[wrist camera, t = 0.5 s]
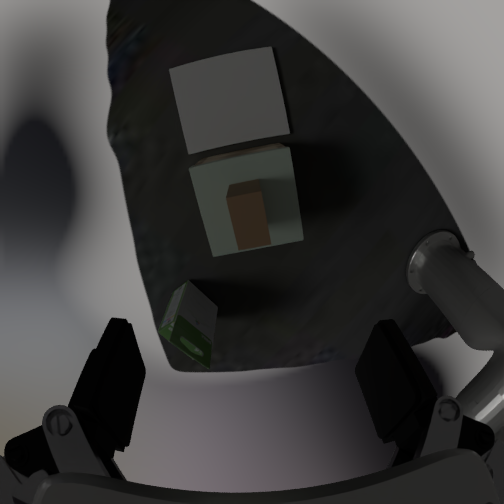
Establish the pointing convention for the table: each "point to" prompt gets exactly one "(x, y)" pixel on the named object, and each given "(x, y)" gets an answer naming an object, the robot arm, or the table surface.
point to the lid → (248, 201)
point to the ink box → (190, 323)
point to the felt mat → (229, 99)
